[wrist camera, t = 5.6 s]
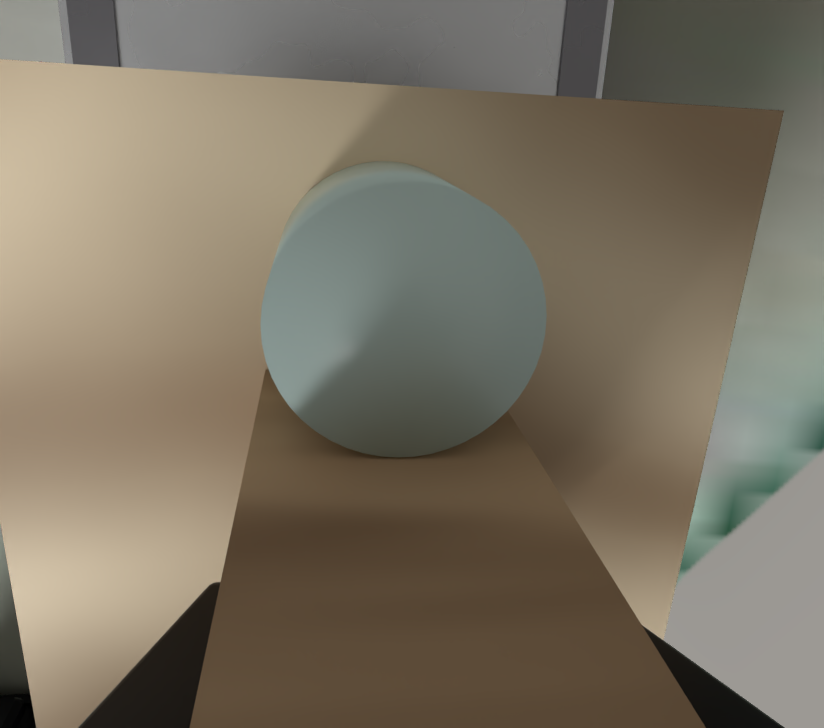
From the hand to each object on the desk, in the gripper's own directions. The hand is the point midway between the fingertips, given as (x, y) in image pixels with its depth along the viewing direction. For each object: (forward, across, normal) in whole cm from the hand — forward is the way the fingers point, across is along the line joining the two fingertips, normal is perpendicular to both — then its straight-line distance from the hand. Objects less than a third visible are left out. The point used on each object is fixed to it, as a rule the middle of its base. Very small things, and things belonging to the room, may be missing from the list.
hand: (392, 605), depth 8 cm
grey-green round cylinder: (+3, 0, -3) cm, 5 cm away
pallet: (+5, 0, 0) cm, 5 cm away
